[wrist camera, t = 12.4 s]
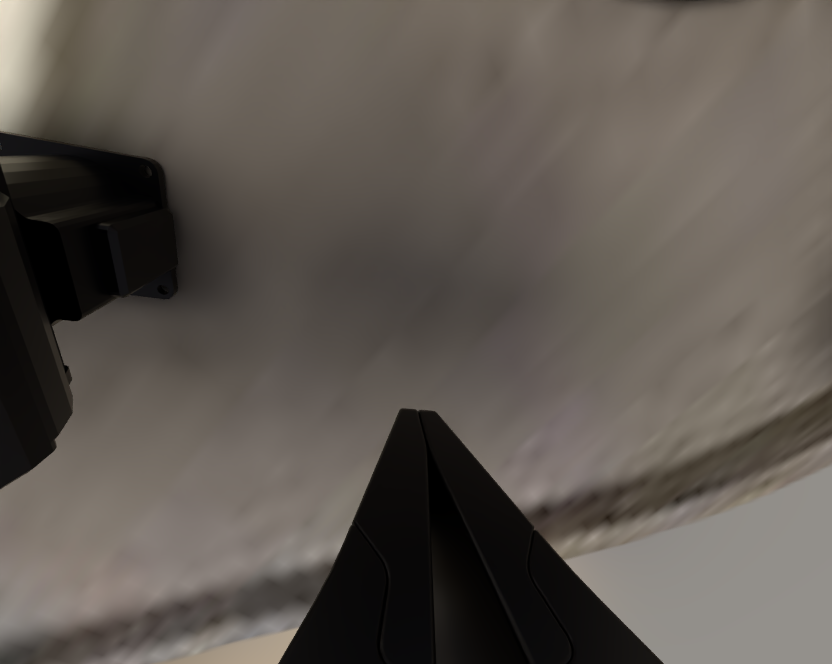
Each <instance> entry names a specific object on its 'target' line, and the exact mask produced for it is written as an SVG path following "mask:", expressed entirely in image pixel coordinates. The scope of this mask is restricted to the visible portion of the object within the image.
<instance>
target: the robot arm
mask: <svg viewBox="0 0 832 664" xmlns="http://www.w3.org/2000/svg"><path fill="white" fill-rule="evenodd" d="M0 143H1V145H2V150H1V149H0V489H2V488H3V487H5V486H7V485H8V484H10V483H11V482H13V481H15V480H16V479H18V478H20V477H21V476H23V475H24V474H26V473H28V472H29V471H30V470H32V469H33V468H34V467H35V466H37V465H38V464H39V463H40V462H41V461H43V460H44V459H45V458H46V457H47V456H49V455H50V454H51V453H52V452H53V451H54V450H55V449H56V442H55V438H56V437H57V436H58V435H59V434H60V432H61V430H62V429H63V427H64V426H65V424H66V423H67V421H68V420H69V418H70V416H71V415H72V413H73V396H72V392H71V389H70V386H69V384H70V382H71V381H72V376H71V373H70V370H69V367H68V366H66V365H64V363H63V360H62V357H61V353H60V350H59V347H58V344H57V341H56V338H55V334H54V331H53V328H52V326H53V325H55V324H56V323H58V322H60V321H62V320H68V321H79V320H81V319H82V318H84V317H86V316H87V315H89V314H91V313H92V312H94V311H96V310H98V309H99V308H101V307H103V306H104V305H106V304H108V303H109V302H111V301H113V300H114V299H116V298H118V297H123V298H124V297H127V296H129V295H135V296H143V297H151V298H160V299H169V298H171V297H173V296H174V295H175V294H176V293H177V291H178V286H177V279H176V271H175V266H177V265H178V257H177V249H176V241H175V233H174V224H173V216H172V213H171V212H170V211H169V210H168V208H167V201H166V193H165V185H164V177H163V171H162V168H161V167H160V165H159V164H158V163H157V162H156V161H154V160H152V159H149V158H145V157H139V156H134V155H128V154H123V153H117V152H112V151H106V150H101V149H95V148H90V147H85V146H79V145H74V144H68V143H63V142H57V141H52V140H46V139H41V138H35V137H30V136H24V135H19V134H13V133H8V132H3V131H0ZM145 165H146V166H148V167H149V168H150V169H151V172H152V175H151V176H148V175H147V174H146V173H145V171H144V166H145ZM162 285H163V286H166V287H167V288H168V292H167V291H165V290H163V289H162ZM278 664H664V663H663V662H662V661H661V660H660V659H659V658H658V657H657V656H656V655H655V654H654V653H653V652H652V651H651V650H650V649H649V648H648V647H647V646H646V645H645V644H644V643H643V642H642V641H641V640H640V639H639V638H638V637H637V636H636V635H635V634H634V633H633V632H632V631H631V630H630V629H629V628H628V627H627V626H626V625H625V624H624V623H623V622H622V621H621V620H620V619H619V618H618V617H617V616H616V615H615V614H614V613H613V612H612V611H611V610H610V609H609V608H608V607H607V606H606V605H605V604H604V603H603V602H602V601H601V600H600V599H599V598H598V597H597V596H596V595H595V593H594V592H593V591H592V590H591V589H590V588H589V587H588V586H587V585H586V584H585V583H584V582H583V581H582V580H581V579H580V578H579V577H578V576H577V575H576V574H575V573H574V572H573V571H572V569H571V568H570V567H569V566H568V565H567V564H566V563H565V561H564V560H563V559H562V558H561V557H560V556H559V555H558V554H557V552H556V551H555V550H554V549H553V548H552V547H551V546H550V544H549V543H548V542H547V541H546V540H545V539H544V537H543V536H542V535H541V534H540V533H539V532H538V531H537V530H534V526H533V525H532V524H531V522H530V521H529V520H528V519H527V518H526V517H525V515H524V514H523V513H522V512H521V511H520V510H519V508H518V507H517V506H516V505H515V504H514V503H513V501H512V500H511V499H510V498H509V497H508V496H507V494H506V493H505V492H504V491H503V490H502V489H501V487H500V486H499V485H498V484H497V483H496V481H495V480H494V479H493V478H492V477H491V476H490V474H489V473H488V472H487V471H486V470H485V469H484V467H483V466H482V465H481V464H480V463H479V462H478V460H477V459H476V458H475V457H474V456H473V455H472V453H471V452H470V451H469V450H468V449H467V448H466V446H465V445H464V444H463V443H462V442H461V440H460V439H459V438H458V437H457V436H456V435H455V433H454V432H453V431H452V430H451V429H450V428H449V426H448V425H447V424H446V423H445V422H444V421H443V419H442V418H441V417H440V416H439V415H438V414H437V413H436V412H435V411H428V410H419V411H417V410H415V409H404V408H402V409H400V411H399V413H398V415H397V417H396V420H395V422H394V425H393V427H392V429H391V432H390V434H389V436H388V439H387V441H386V444H385V446H384V448H383V451H382V453H381V455H380V458H379V460H378V463H377V465H376V467H375V470H374V472H373V474H372V477H371V479H370V482H369V484H368V486H367V489H366V491H365V493H364V496H363V498H362V501H361V503H360V505H359V508H358V510H357V512H356V515H355V517H354V520H353V522H352V525H351V526H350V528H349V531H348V533H347V536H346V538H345V540H344V543H343V545H342V547H341V549H340V552H339V554H338V556H337V558H336V560H335V562H334V564H333V567H332V569H331V571H330V573H329V575H328V577H327V579H326V580H325V582H324V584H323V586H322V588H321V590H320V592H319V593H318V595H317V597H316V599H315V601H314V603H313V605H312V606H311V608H310V610H309V612H308V613H307V615H306V617H305V619H304V620H303V622H302V624H301V625H300V627H299V629H298V631H297V633H296V634H295V636H294V638H293V639H292V641H291V643H290V644H289V646H288V648H287V650H286V651H285V653H284V655H283V656H282V658H281V660H280V662H279V663H278Z"/></svg>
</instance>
